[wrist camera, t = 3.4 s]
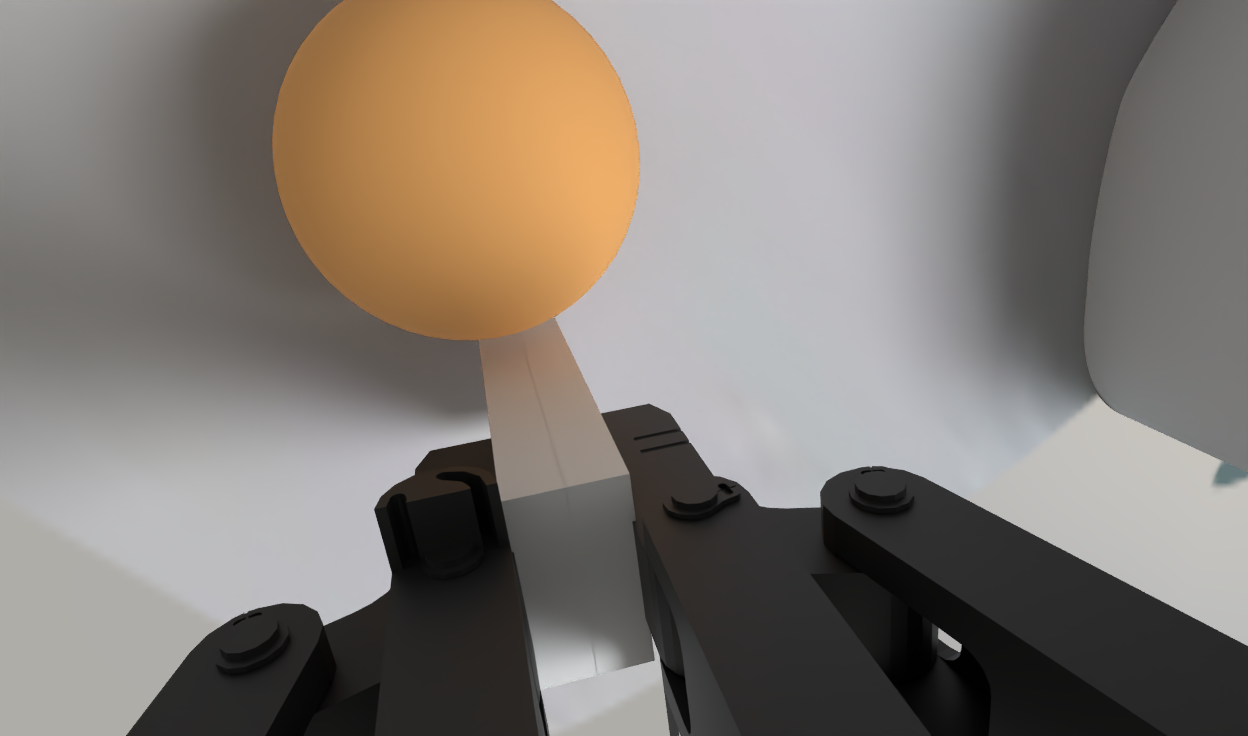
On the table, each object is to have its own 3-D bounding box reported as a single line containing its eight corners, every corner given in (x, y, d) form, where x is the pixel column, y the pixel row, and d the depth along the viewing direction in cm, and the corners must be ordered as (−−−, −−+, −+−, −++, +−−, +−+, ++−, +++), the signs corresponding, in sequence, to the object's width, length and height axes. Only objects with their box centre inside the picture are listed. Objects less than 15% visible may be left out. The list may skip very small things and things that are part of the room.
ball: (584, -20, 14) (664, -87, 9) (616, 272, 16) (698, 352, 11) (269, 9, 13) (161, -48, 8) (345, 315, 15) (296, 425, 10)
